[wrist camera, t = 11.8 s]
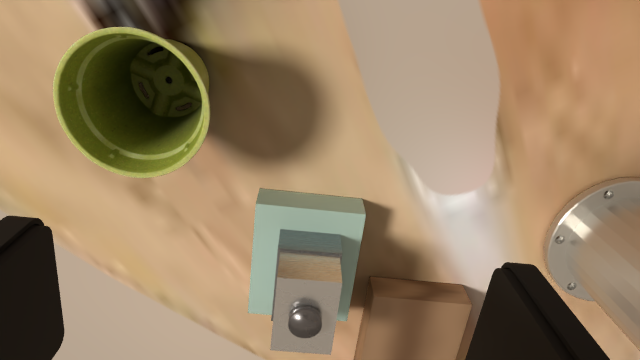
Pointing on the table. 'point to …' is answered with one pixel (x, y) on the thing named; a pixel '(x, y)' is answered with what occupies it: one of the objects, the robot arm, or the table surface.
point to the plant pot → (132, 101)
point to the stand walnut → (412, 320)
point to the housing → (306, 291)
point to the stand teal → (302, 216)
